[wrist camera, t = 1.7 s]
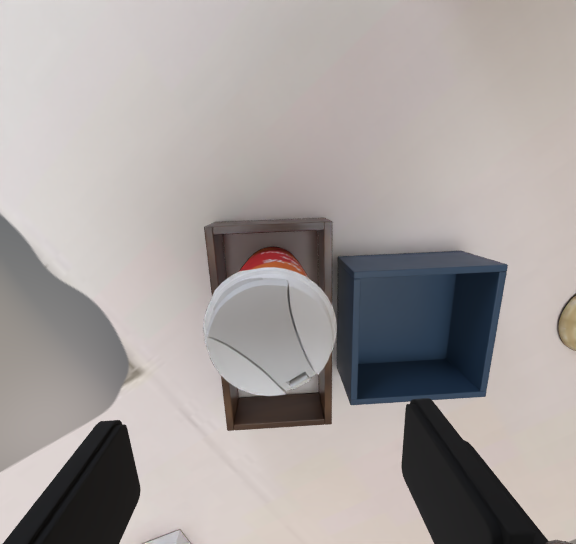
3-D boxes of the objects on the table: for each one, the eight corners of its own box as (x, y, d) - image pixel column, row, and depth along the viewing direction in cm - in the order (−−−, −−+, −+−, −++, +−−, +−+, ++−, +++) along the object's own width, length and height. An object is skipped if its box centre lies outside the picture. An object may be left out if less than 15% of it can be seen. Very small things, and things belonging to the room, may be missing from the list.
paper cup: (324, 283, 29) (367, 360, 16) (262, 322, 30) (251, 425, 16) (283, 219, 27) (291, 242, 14) (218, 261, 28) (164, 322, 15)
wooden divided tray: (213, 222, 27) (203, 226, 23) (324, 217, 27) (332, 221, 24) (232, 403, 32) (227, 431, 29) (325, 397, 33) (331, 424, 29)
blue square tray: (337, 256, 28) (353, 272, 23) (461, 250, 29) (508, 264, 23) (336, 367, 32) (350, 405, 26) (447, 360, 32) (485, 396, 26)
